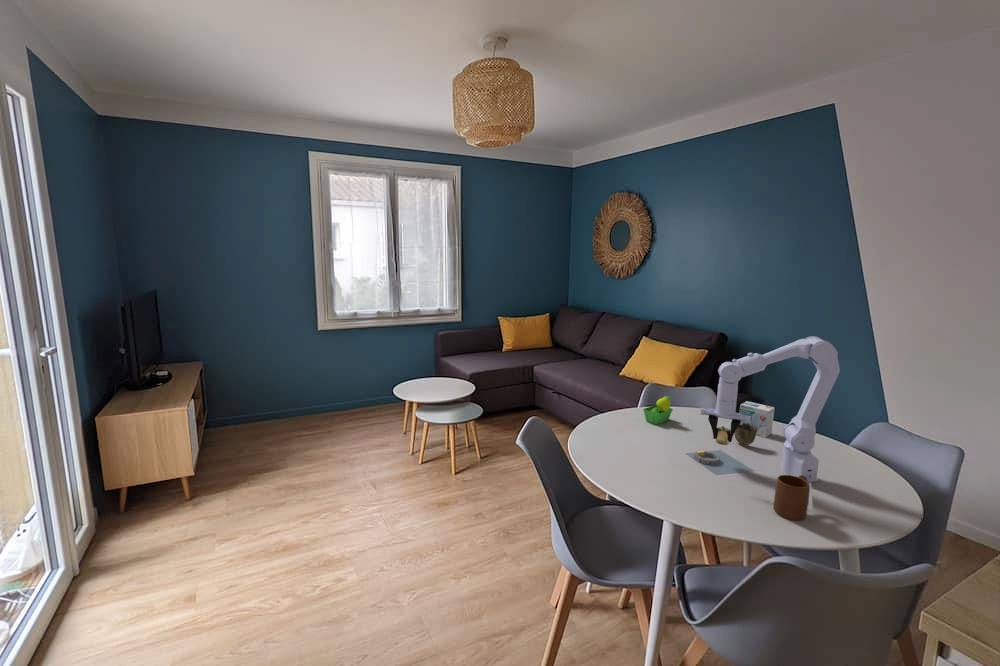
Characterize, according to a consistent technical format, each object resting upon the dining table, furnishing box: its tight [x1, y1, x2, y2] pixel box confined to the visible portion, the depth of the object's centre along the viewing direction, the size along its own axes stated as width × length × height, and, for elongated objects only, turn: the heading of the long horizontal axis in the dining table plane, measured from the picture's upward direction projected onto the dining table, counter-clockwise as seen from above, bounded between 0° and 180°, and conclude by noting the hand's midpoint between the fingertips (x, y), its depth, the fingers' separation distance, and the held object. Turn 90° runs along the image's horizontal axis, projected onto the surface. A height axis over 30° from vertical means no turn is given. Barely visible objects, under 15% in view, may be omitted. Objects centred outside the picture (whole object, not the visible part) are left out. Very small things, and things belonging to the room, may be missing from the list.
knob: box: [715, 425, 731, 446], centre depth 154 cm, size 4×4×5 cm
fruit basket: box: [642, 396, 674, 425], centre depth 195 cm, size 11×9×11 cm
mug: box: [773, 474, 811, 521], centre depth 128 cm, size 12×8×9 cm, turn 128°
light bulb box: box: [738, 400, 775, 438], centre depth 185 cm, size 11×7×11 cm, turn 42°
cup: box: [734, 423, 758, 447], centre depth 171 cm, size 8×7×8 cm
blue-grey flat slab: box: [685, 450, 755, 476], centre depth 156 cm, size 16×14×2 cm
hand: (722, 439), depth 155 cm, fingers closed on knob, 4 cm apart
